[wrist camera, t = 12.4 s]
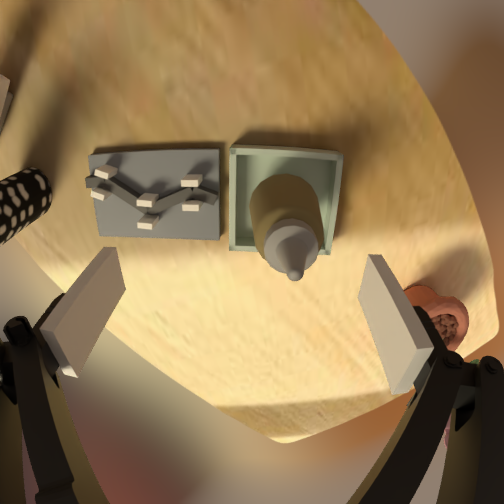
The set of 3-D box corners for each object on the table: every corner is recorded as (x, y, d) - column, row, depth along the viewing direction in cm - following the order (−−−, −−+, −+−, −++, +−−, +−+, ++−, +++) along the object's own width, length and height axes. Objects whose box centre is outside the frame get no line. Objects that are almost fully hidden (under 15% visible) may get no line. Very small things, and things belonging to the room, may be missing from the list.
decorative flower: (460, 266, 42) (557, 401, 16) (437, 328, 49) (499, 459, 22) (385, 269, 43) (471, 446, 16) (368, 336, 49) (414, 493, 23)
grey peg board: (92, 153, 36) (77, 160, 32) (220, 148, 36) (215, 153, 32) (103, 232, 42) (90, 244, 38) (220, 236, 41) (216, 250, 38)
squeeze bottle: (303, 158, 35) (335, 208, 20) (321, 216, 39) (356, 300, 23) (240, 178, 37) (222, 243, 21) (262, 234, 40) (261, 327, 25)
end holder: (232, 144, 35) (229, 147, 33) (337, 151, 35) (343, 155, 32) (231, 240, 42) (229, 250, 39) (326, 244, 41) (330, 255, 39)
